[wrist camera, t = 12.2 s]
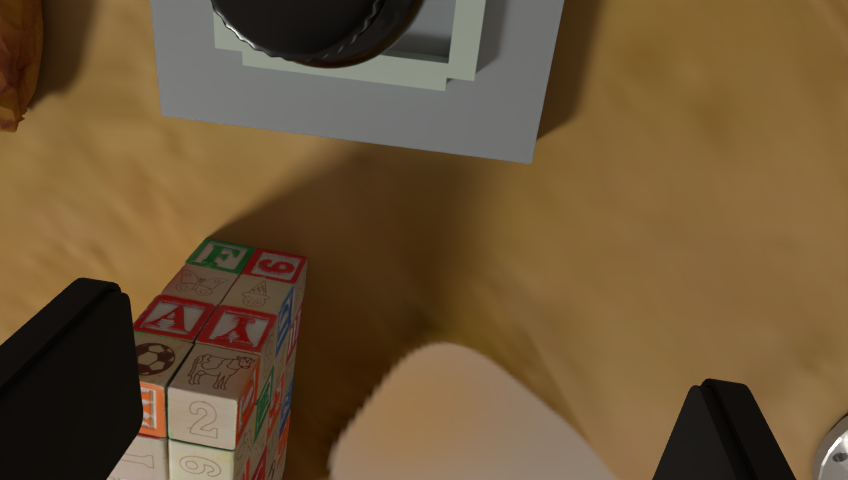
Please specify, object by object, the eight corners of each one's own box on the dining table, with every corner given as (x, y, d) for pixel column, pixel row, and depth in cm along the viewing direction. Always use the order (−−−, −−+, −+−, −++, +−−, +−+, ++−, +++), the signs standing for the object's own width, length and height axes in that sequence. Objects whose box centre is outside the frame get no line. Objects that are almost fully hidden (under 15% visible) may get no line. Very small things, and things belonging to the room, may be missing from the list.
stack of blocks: (284, 496, 47) (225, 674, 37) (201, 480, 47) (118, 653, 37) (309, 254, 37) (237, 403, 26) (203, 233, 37) (87, 374, 26)
